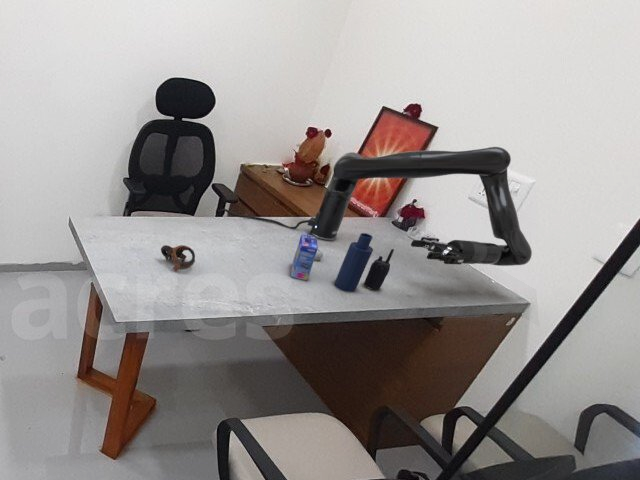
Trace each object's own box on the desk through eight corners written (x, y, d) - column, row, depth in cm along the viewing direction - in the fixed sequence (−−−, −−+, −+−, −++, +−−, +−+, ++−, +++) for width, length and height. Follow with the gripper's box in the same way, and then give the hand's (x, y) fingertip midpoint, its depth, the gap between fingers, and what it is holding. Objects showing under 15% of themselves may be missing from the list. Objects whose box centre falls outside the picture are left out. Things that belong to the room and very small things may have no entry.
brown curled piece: (192, 261, 179) (201, 249, 171) (183, 282, 174) (192, 270, 167) (161, 246, 179) (168, 233, 172) (151, 267, 175) (158, 254, 168)
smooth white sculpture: (321, 264, 188) (312, 261, 186) (308, 253, 195) (299, 250, 193) (328, 254, 186) (319, 250, 184) (315, 243, 193) (305, 240, 191)
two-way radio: (381, 289, 174) (399, 249, 166) (377, 293, 171) (395, 253, 163) (364, 282, 177) (381, 243, 169) (360, 286, 174) (377, 247, 166)
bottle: (332, 286, 172) (353, 235, 162) (336, 279, 177) (357, 229, 167) (352, 294, 169) (375, 242, 159) (357, 286, 174) (379, 235, 164)
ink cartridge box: (290, 264, 183) (303, 227, 175) (306, 268, 182) (320, 230, 174) (290, 277, 175) (304, 238, 167) (307, 281, 174) (321, 242, 166)
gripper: (456, 232, 173) (412, 229, 171) (487, 252, 161) (439, 249, 159) (446, 252, 177) (402, 249, 175) (475, 273, 165) (428, 270, 163)
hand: (420, 249), depth 167 cm, fingers open, 8 cm apart
